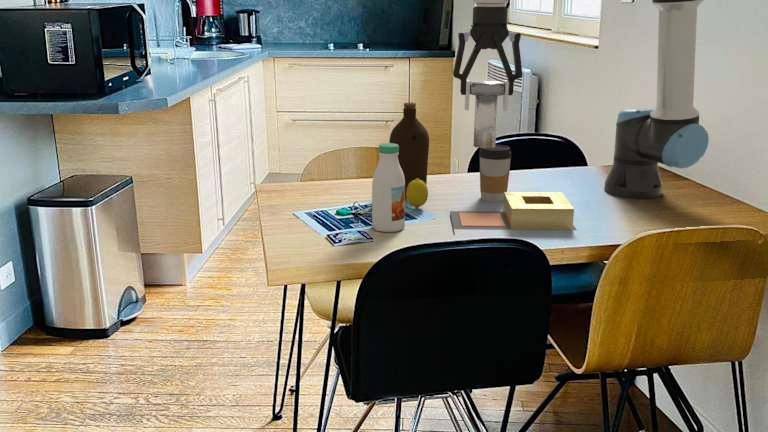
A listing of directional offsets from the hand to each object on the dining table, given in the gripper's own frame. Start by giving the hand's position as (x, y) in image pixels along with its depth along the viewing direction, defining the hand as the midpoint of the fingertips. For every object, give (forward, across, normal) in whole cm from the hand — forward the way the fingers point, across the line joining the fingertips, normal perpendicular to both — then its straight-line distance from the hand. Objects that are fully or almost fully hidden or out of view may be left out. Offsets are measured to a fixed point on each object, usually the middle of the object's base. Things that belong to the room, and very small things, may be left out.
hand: (485, 109), depth 171 cm
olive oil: (+28, +17, -27) cm, 42 cm away
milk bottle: (+28, +22, +2) cm, 36 cm away
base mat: (+28, -7, 0) cm, 29 cm away
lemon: (+28, +15, -14) cm, 35 cm away
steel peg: (+8, 0, 0) cm, 8 cm away
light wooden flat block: (+26, -13, 0) cm, 29 cm away
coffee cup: (+28, -5, -19) cm, 34 cm away
